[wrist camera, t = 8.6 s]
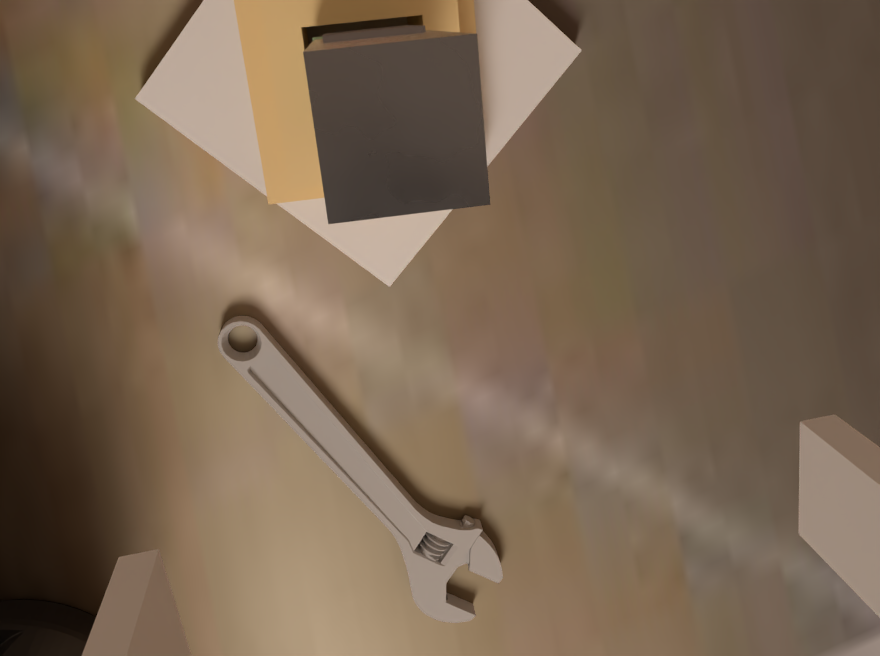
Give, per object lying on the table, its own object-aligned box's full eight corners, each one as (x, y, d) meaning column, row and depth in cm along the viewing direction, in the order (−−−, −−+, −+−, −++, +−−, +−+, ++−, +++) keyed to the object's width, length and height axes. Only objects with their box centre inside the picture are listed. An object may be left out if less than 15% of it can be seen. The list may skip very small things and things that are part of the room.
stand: (186, 305, 47) (154, 366, 38) (87, -156, 39) (20, -205, 30) (581, 254, 49) (634, 302, 40) (564, -196, 41) (625, -253, 32)
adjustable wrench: (209, 329, 48) (204, 340, 46) (302, 269, 47) (301, 278, 46) (437, 618, 57) (440, 636, 55) (518, 570, 56) (523, 587, 54)
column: (327, 136, 37) (325, 228, 20) (312, 33, 35) (298, 43, 19) (421, 126, 37) (493, 207, 21) (411, 23, 36) (479, 24, 19)
